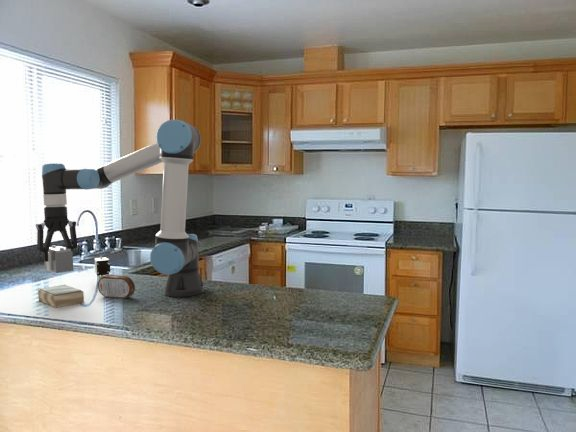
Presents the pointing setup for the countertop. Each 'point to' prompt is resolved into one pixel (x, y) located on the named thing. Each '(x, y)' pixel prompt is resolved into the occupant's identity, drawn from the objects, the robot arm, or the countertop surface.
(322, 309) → the countertop surface
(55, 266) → the housing
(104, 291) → the tin
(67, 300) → the stand
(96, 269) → the pneumatic valve
